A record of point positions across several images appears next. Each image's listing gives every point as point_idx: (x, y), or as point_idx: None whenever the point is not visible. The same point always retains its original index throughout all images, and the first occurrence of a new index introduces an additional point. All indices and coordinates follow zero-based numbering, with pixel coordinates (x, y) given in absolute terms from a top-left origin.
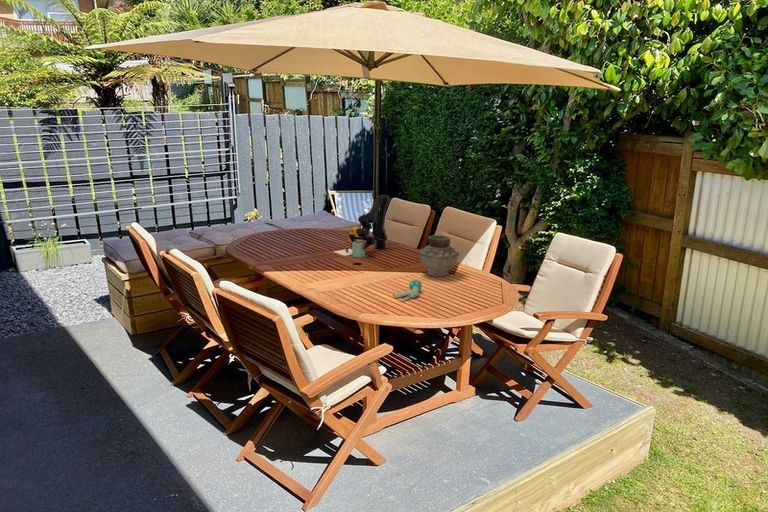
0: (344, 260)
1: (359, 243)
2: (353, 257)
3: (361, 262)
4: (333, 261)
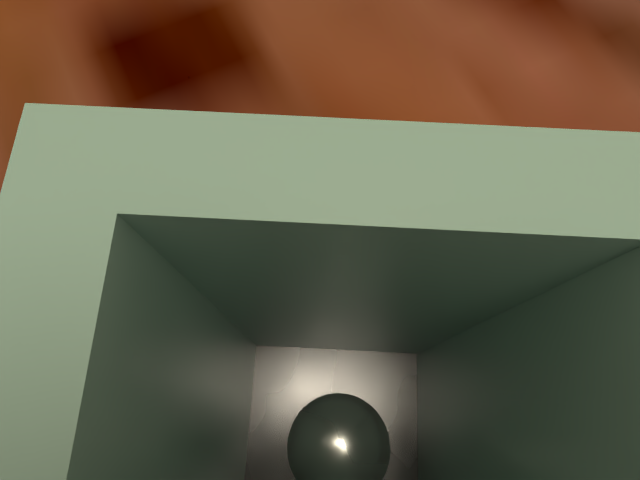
0: None
1: (115, 122)
2: None
3: None
4: (634, 23)
